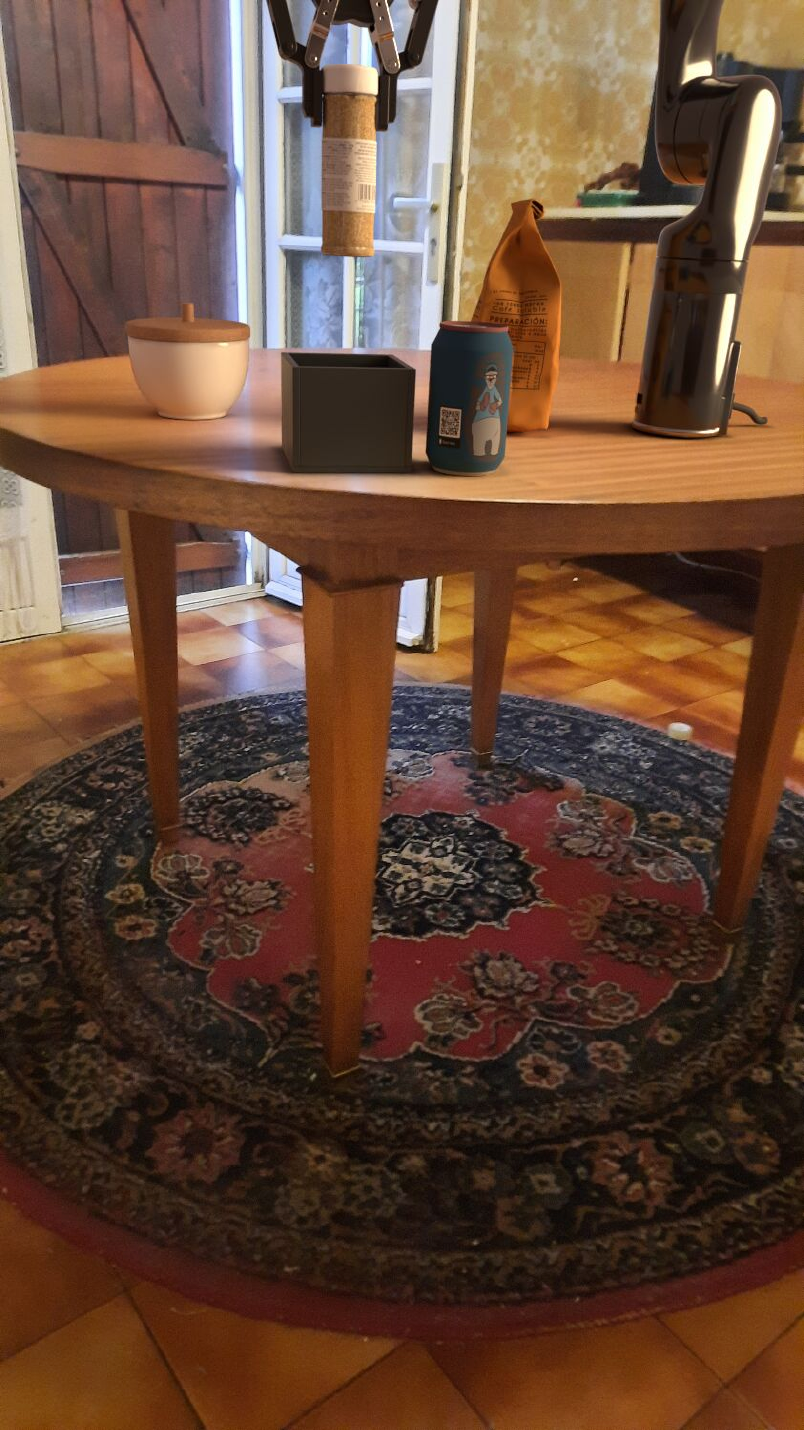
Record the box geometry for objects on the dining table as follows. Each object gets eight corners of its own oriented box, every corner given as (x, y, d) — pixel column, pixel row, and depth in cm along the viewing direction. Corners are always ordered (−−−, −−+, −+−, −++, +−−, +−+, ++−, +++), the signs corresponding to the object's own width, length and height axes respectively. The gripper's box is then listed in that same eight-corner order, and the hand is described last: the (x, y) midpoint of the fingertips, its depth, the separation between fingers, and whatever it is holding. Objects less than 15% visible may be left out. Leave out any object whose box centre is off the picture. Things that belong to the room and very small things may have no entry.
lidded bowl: (127, 405, 112) (119, 297, 108) (241, 404, 116) (238, 300, 111) (136, 425, 102) (128, 307, 97) (261, 424, 105) (259, 309, 101)
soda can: (447, 457, 94) (456, 318, 89) (516, 468, 91) (528, 325, 86) (410, 469, 89) (417, 322, 83) (482, 481, 86) (493, 330, 80)
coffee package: (546, 419, 115) (568, 202, 106) (554, 440, 104) (580, 199, 95) (458, 414, 116) (473, 198, 106) (457, 434, 105) (473, 194, 95)
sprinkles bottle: (352, 255, 88) (355, 72, 82) (385, 258, 85) (391, 68, 79) (309, 254, 85) (308, 65, 79) (341, 257, 82) (343, 60, 76)
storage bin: (389, 448, 97) (392, 354, 93) (411, 472, 88) (416, 369, 84) (281, 448, 95) (280, 352, 91) (293, 473, 86) (292, 367, 82)
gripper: (257, -172, 69) (262, 119, 76) (462, -148, 72) (447, 131, 79) (250, -138, 75) (255, 127, 83) (438, -117, 78) (427, 137, 86)
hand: (349, 127), depth 81 cm, fingers closed on sprinkles bottle, 4 cm apart
